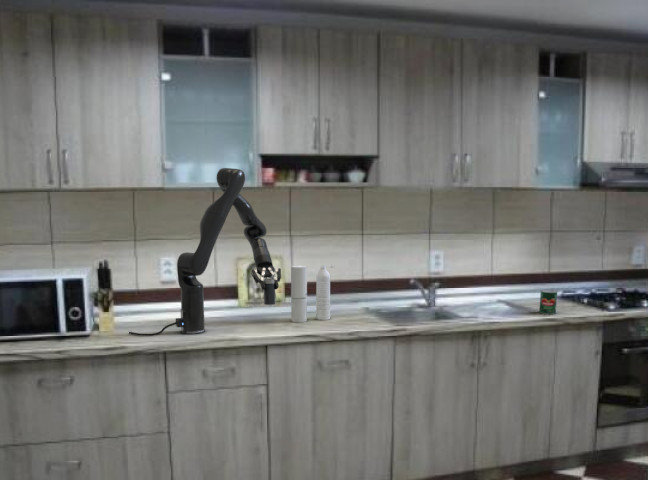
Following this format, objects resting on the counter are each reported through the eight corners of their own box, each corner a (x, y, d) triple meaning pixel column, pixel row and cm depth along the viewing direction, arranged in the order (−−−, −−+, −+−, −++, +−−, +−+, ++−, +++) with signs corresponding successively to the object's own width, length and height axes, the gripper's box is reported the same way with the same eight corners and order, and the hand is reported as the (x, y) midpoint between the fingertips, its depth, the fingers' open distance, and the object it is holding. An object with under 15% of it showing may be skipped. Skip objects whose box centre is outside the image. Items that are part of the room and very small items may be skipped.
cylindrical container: (309, 319, 286) (309, 266, 282) (303, 322, 279) (303, 267, 275) (295, 318, 288) (294, 265, 284) (288, 321, 282) (288, 267, 277)
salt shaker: (265, 305, 274) (265, 280, 272) (262, 303, 278) (262, 279, 276) (276, 304, 276) (276, 279, 274) (273, 302, 280) (272, 278, 278)
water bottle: (319, 320, 284) (319, 266, 280) (314, 318, 290) (314, 265, 286) (336, 319, 288) (337, 265, 283) (331, 316, 294) (331, 264, 289)
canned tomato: (543, 314, 302) (545, 292, 300) (536, 311, 310) (537, 289, 308) (558, 314, 303) (560, 292, 301) (551, 311, 311) (552, 289, 309)
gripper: (248, 254, 277) (256, 284, 268) (279, 253, 282) (288, 282, 274) (245, 264, 283) (253, 294, 274) (275, 263, 288) (284, 292, 279)
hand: (270, 288), depth 274 cm, fingers closed on salt shaker, 5 cm apart
